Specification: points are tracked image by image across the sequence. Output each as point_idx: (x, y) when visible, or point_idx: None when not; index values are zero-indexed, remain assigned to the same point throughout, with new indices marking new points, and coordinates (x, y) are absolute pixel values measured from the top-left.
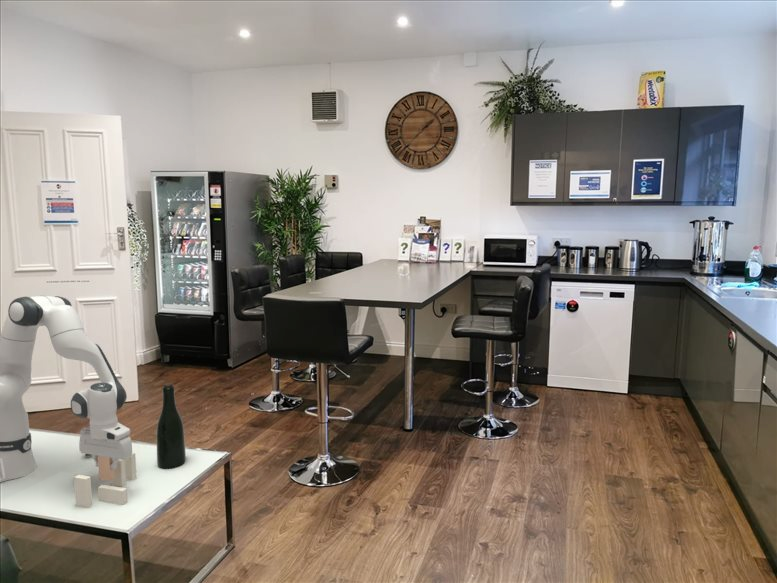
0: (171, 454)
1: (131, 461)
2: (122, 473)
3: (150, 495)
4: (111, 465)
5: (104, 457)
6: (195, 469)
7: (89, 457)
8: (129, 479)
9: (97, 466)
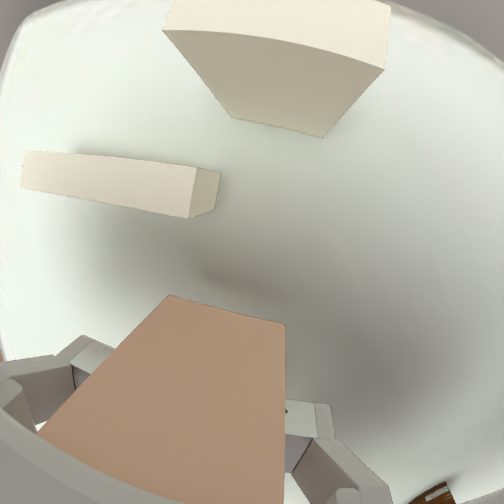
0: None
1: None
2: None
3: (29, 258)
4: (79, 362)
5: (127, 470)
6: None
7: (437, 490)
8: None
9: (304, 402)
